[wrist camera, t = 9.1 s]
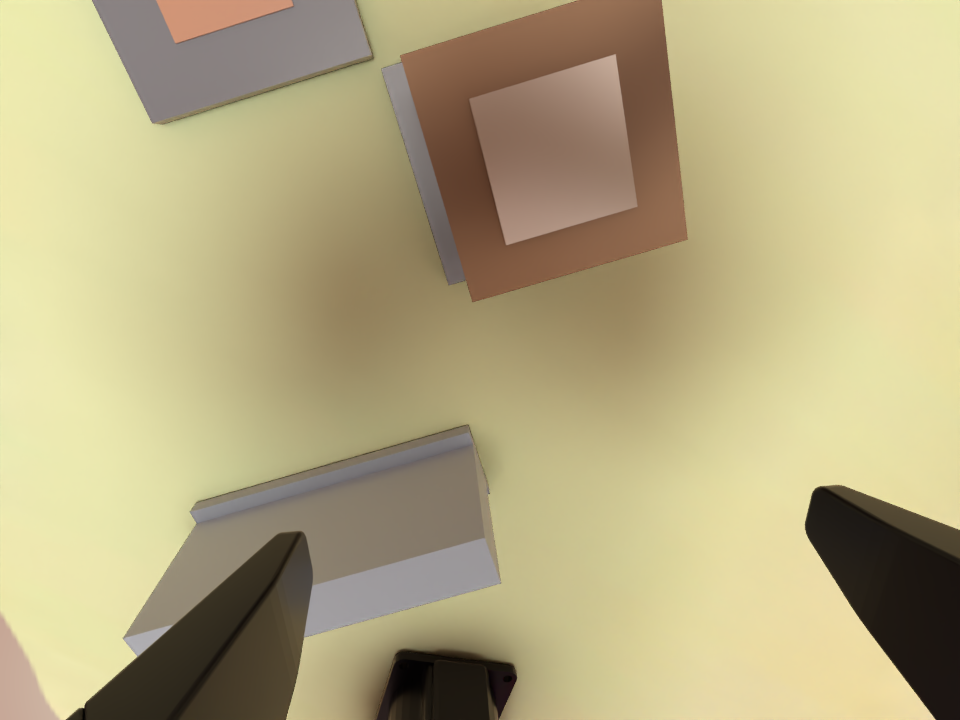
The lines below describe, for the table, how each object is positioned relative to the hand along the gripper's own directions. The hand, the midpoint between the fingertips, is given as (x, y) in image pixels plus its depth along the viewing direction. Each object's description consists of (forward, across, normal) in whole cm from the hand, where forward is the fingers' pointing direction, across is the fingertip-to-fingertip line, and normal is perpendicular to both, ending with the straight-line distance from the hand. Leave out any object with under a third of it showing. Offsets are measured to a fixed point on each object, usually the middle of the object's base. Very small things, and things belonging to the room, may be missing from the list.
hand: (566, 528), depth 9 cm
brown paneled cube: (+11, -1, -6) cm, 12 cm away
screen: (+12, +7, +7) cm, 15 cm away
